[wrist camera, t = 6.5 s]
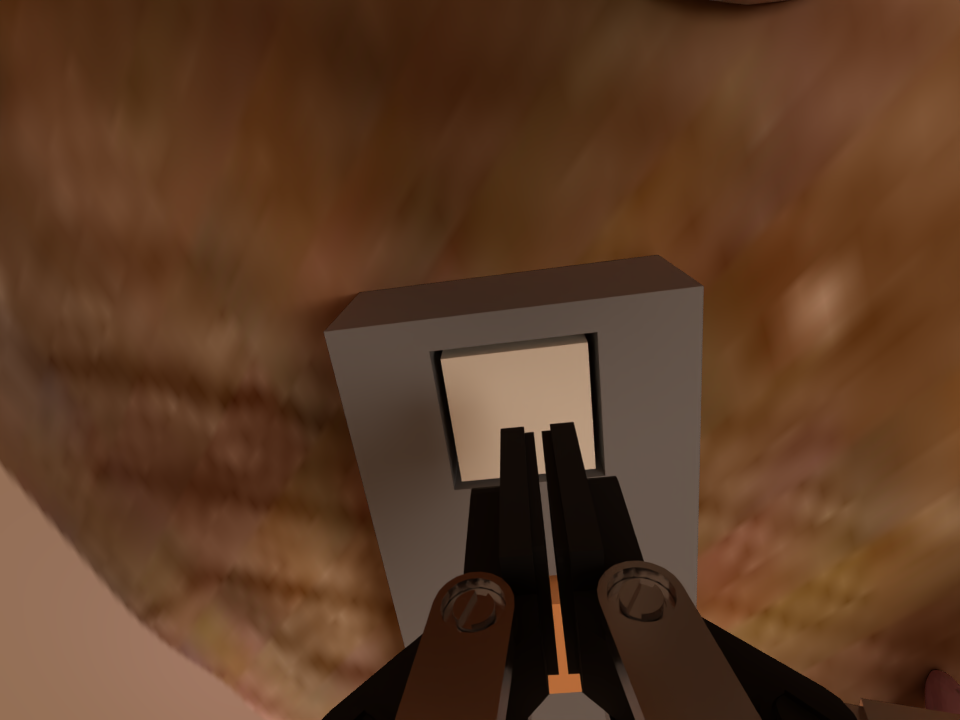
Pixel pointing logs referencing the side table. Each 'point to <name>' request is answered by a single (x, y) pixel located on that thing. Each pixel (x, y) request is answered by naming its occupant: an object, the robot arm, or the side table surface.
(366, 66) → the side table surface
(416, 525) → the button panel
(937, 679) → the video game controller
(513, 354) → the button cream
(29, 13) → the side table surface
